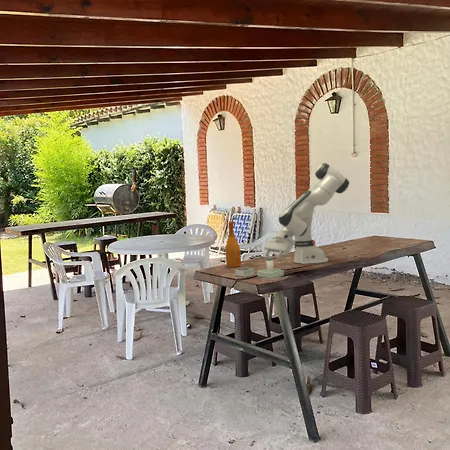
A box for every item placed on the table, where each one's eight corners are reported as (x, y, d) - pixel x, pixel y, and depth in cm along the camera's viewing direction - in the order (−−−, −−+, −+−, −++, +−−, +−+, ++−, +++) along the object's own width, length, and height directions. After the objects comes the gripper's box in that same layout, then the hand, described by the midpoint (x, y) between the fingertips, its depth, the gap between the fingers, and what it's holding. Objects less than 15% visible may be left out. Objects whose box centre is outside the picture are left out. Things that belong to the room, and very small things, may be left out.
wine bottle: (237, 268, 332) (233, 222, 329) (223, 267, 337) (220, 222, 334) (243, 265, 340) (240, 220, 337) (230, 264, 345) (227, 220, 342)
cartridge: (274, 273, 301) (273, 257, 300) (273, 275, 297) (272, 258, 296) (267, 274, 302) (266, 257, 301) (266, 275, 298) (265, 258, 297)
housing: (246, 272, 313) (245, 267, 313) (254, 274, 307) (254, 268, 307) (235, 275, 309) (235, 269, 308) (244, 276, 302) (243, 271, 302)
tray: (271, 273, 308) (271, 267, 307) (284, 275, 299) (283, 269, 298) (257, 276, 301) (257, 271, 301) (269, 278, 292) (269, 273, 292)
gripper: (268, 234, 312) (257, 252, 308) (291, 236, 296) (279, 255, 291) (274, 240, 315) (263, 258, 311) (297, 243, 299) (285, 262, 294)
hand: (271, 257), depth 301 cm, fingers open, 8 cm apart
